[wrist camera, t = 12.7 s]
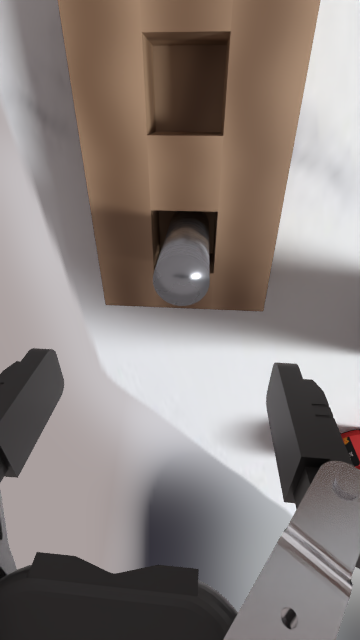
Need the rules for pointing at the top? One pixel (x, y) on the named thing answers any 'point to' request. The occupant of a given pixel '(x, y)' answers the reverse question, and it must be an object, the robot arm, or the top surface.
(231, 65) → the hole block
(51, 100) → the top surface
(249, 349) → the top surface
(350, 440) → the canned food
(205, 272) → the pin
